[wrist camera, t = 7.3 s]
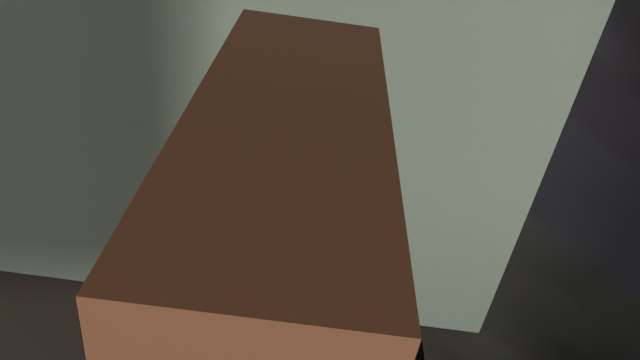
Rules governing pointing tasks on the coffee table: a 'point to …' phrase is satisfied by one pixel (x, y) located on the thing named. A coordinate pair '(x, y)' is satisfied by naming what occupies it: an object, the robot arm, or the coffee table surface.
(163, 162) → the card deck
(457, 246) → the mat
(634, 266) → the coffee table surface
